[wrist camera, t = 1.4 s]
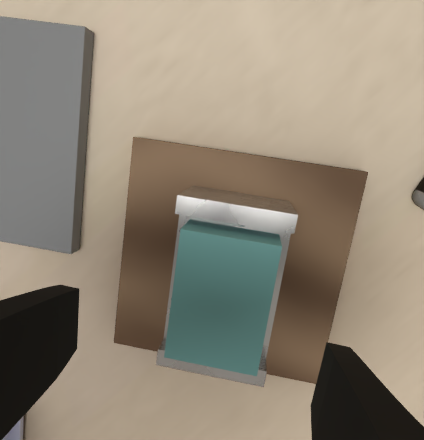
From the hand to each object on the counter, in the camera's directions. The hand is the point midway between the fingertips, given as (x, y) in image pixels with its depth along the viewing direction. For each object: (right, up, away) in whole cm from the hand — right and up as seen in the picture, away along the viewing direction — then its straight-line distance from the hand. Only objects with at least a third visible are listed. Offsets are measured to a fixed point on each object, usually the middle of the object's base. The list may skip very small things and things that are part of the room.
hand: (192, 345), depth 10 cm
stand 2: (+2, +1, +10) cm, 10 cm away
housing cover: (+1, +1, +6) cm, 6 cm away
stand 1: (-12, +9, +10) cm, 18 cm away
